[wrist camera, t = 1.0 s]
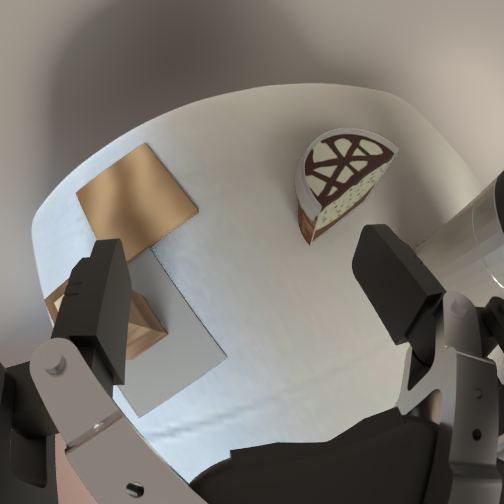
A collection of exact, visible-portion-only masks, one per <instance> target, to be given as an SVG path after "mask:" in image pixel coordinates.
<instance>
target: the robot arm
mask: <svg viewBox="0 0 504 504" xmlns="http://www.w3.org/2000/svg"><path fill="white" fill-rule="evenodd" d="M352 270H353V274H354V276H355V278H356V279H357V281H358V282H359V284H360V286H361V287H362V289H363V291H364V292H365V294H366V295H367V297H368V299H369V300H370V302H371V304H372V305H373V307H374V309H375V310H376V312H377V314H378V315H379V317H380V319H381V320H382V322H383V324H384V326H385V327H386V329H387V331H388V333H389V334H390V336H391V338H392V340H393V341H394V343H395V345H399V344H403V343H406V342H409V343H410V347H409V348H408V350H407V353H406V360H405V367H404V374H403V380H402V386H401V392H400V396H399V399H398V401H397V403H396V404H395V406H394V408H392V409H389V410H387V411H384V412H382V413H379V414H376V415H373V416H371V417H368V418H365V419H363V420H362V421H360V422H359V423H357V424H356V425H354V426H353V427H351V428H349V429H348V430H346V431H345V432H343V433H341V434H340V435H338V436H337V437H335V438H333V439H332V440H330V441H327V442H318V443H280V442H277V443H272V444H267V445H261V446H255V447H249V448H243V449H235V450H230V458H228V459H226V460H223V461H221V462H219V463H217V464H215V465H213V466H211V467H209V468H208V469H206V470H205V471H203V472H201V473H200V474H199V475H198V476H197V477H195V478H194V479H193V480H192V481H191V482H190V483H188V482H187V481H186V480H185V479H184V478H182V477H181V476H180V475H179V474H178V473H177V472H176V471H175V470H174V469H173V468H172V467H171V466H170V465H169V464H168V463H167V462H166V461H165V460H164V459H163V458H162V457H161V456H160V455H159V454H158V453H157V451H156V450H155V449H154V448H153V447H152V446H151V445H150V444H149V443H148V442H147V441H146V439H145V438H144V437H143V436H142V435H141V434H140V433H139V431H138V430H137V429H136V428H135V427H134V425H133V424H132V423H131V422H130V421H129V419H128V418H127V417H126V416H125V414H124V413H123V412H122V411H121V409H120V408H119V407H118V405H117V404H116V403H115V401H114V400H113V399H112V396H113V385H125V363H126V348H127V335H128V324H129V314H130V305H131V296H132V286H131V278H130V274H129V270H128V266H127V262H126V258H125V254H124V249H123V245H122V242H121V240H120V239H119V238H117V239H105V240H97V241H96V242H95V244H94V247H93V250H92V253H91V256H90V257H87V258H82V259H81V260H80V261H79V262H78V263H77V265H76V266H75V267H74V268H73V269H72V272H71V274H70V277H69V280H68V285H67V286H66V289H65V292H64V296H63V298H62V301H61V304H60V308H59V311H58V314H57V318H56V321H55V325H54V328H53V332H52V336H51V339H50V340H47V341H45V342H43V343H42V344H41V345H40V346H39V347H38V348H37V349H36V350H35V351H34V353H33V355H32V357H31V360H30V361H29V362H25V363H22V364H19V365H16V366H12V367H8V368H5V367H4V366H3V365H2V364H1V363H0V504H58V494H57V484H56V467H55V434H58V433H60V434H61V436H62V438H63V439H64V441H65V443H66V446H67V448H66V449H65V455H66V457H67V460H68V461H69V463H70V465H71V467H72V468H73V470H74V471H75V473H76V474H77V475H78V477H79V478H80V480H81V481H82V483H83V484H84V485H85V487H86V488H87V489H88V491H89V492H90V493H91V495H92V496H93V497H94V499H95V500H96V501H97V502H98V504H504V385H503V384H502V383H501V382H500V380H499V378H498V376H497V367H496V363H495V361H494V360H492V359H489V358H487V356H488V355H489V354H490V353H491V352H492V351H493V349H494V348H495V347H496V346H497V345H498V344H499V346H500V348H501V349H502V351H503V353H504V171H503V172H502V173H501V174H500V175H499V176H498V177H497V178H496V179H495V180H494V181H493V182H492V183H491V184H489V185H488V186H487V188H485V189H484V190H483V191H482V192H481V193H480V194H479V195H478V196H477V197H476V198H475V199H474V200H472V201H471V202H470V203H469V204H468V205H467V206H466V207H465V208H463V209H462V210H461V211H460V212H459V213H458V214H457V215H455V216H454V217H453V218H452V219H451V220H450V221H448V222H447V223H446V224H445V225H444V226H443V227H441V228H440V229H439V230H438V231H436V232H435V233H434V234H433V235H432V236H430V237H429V238H428V239H426V240H425V241H424V242H423V243H421V244H420V245H419V246H418V247H416V248H415V249H414V250H412V249H411V248H410V246H409V245H407V244H406V243H404V242H403V241H402V240H400V239H399V238H398V237H397V236H396V234H395V233H394V232H393V231H392V230H391V229H390V228H389V227H388V226H387V225H385V224H374V225H366V226H364V228H363V229H362V232H361V235H360V238H359V242H358V245H357V248H356V251H355V254H354V257H353V260H352ZM10 440H11V444H10Z"/></svg>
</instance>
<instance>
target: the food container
mask: <svg viewBox="0 0 504 504" xmlns="http://www.w3.org/2000/svg"><path fill="white" fill-rule="evenodd" d="M398 151H399V148H398V147H397V146H396V145H395V144H393V143H392V142H390V141H389V140H387V139H386V138H384V137H382V136H380V135H378V134H376V133H373V132H371V131H367V130H363V129H358V128H338V129H334V130H330V131H327V132H325V133H323V134H321V135H320V136H319V137H317V138H316V139H315V140H313V141H312V142H311V143H310V144H309V145H308V146H307V148H306V150H305V151H304V153H303V154H302V156H301V158H300V159H299V161H298V164H297V167H296V170H295V189H296V194H297V197H298V199H299V202H300V203H299V215H298V219H299V226H300V230H301V232H302V235H303V236H304V238H305V240H306V241H307V243H308V244H309V245H311V244H313V243H314V242H315V241H316V240H318V239H319V238H320V237H322V236H323V235H324V234H325V233H327V232H328V231H329V230H330V229H332V228H333V227H334V226H335V225H337V224H338V223H339V222H341V221H342V220H343V219H344V218H346V217H347V216H348V215H349V214H351V213H352V212H353V211H354V210H356V209H357V208H358V207H359V206H361V205H362V204H363V203H364V202H365V201H366V199H367V198H368V197H369V195H370V194H371V192H372V191H373V189H374V188H375V186H376V185H377V183H378V182H379V180H380V179H381V177H382V176H383V174H384V173H385V171H386V170H387V168H388V166H389V165H390V163H391V162H392V160H393V159H395V158H396V156H397V154H398Z"/></svg>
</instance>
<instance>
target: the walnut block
mask: <svg viewBox="0 0 504 504" xmlns="http://www.w3.org/2000/svg"><path fill="white" fill-rule="evenodd" d="M68 280H69V278H68V279H67V280H66V281H65V282H64V283H63V284H62V285H60V286H59V287H58V288H57V289H56V290H55V291H54V292H52V293H51V294H50V295H49V296H48V297H47V298H46V299H45V300H44V301H45V303H46V306H47V308H48V311H49V313H50V316H51V318H52V320H53V323H54V325H55V321H56V318H57V314H58V311H59V308H60V304H61V301H62V298H63V296H64V292H65V289H66V286H67V285H68ZM167 335H168V333H167V331H166V330H165V328H164V327H163V325H162V324H161V322H160V321H159V319H158V318H157V316H156V315H155V313H154V311H153V310H152V308H151V307H150V305H149V304H148V302H147V300H146V299H145V297H144V296H142V295H141V294H139V293H137V292H136V291H134V290H132V296H131V305H130V314H129V324H128V335H127V348H126V360H134V359H135V358H137V357H138V356H139V355H141V354H142V353H144V352H145V351H146V350H148V349H149V348H150V347H152V346H153V345H155V344H156V343H157V342H159V341H160V340H161V339H163V338H164V337H166V336H167Z"/></svg>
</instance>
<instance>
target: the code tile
mask: <svg viewBox="0 0 504 504" xmlns="http://www.w3.org/2000/svg"><path fill="white" fill-rule="evenodd" d="M127 266H128V270H129V274H130V278H131V286H132V290H134V291H136V292H137V293H139V294H141V295H142V296H144V297H145V299H146V300H147V302H148V304H149V305H150V307H151V308H152V310H153V311H154V313H155V315H156V316H157V318H158V319H159V321H160V322H161V324H162V325H163V327H164V328H165V330H166V331H167V333H168V335H167V336H166V337H164V338H163V339H161V340H160V341H159V342H157V343H156V344H155V345H153V346H152V347H150V348H149V349H148V350H146V351H145V352H144V353H142V354H141V355H139V356H138V357H137V358H135V359H134V360H126V363H125V385H117V387H118V388H119V390H120V391H121V393H122V394H123V396H124V397H125V399H126V400H127V402H128V403H129V405H130V406H131V408H132V409H133V410H134V412H135V413H136V415H137V416H138V418H140V417H142V416H143V415H145V414H146V413H148V412H150V411H151V410H153V409H154V408H156V407H157V406H159V405H160V404H162V403H163V402H165V401H166V400H168V399H169V398H171V397H172V396H174V395H175V394H177V393H178V392H180V391H181V390H183V389H184V388H186V387H187V386H188V385H190V384H191V383H193V382H194V381H196V380H197V379H198V378H200V377H201V376H203V375H204V374H206V373H207V372H208V371H210V370H211V369H213V368H214V367H215V366H217V365H218V364H219V363H221V362H222V361H224V360H225V359H226V358H227V356H226V355H225V354H224V353H223V351H222V350H221V349H220V347H219V346H218V345H217V344H216V342H215V341H214V340H213V338H212V337H211V336H210V334H209V333H208V332H207V330H206V329H205V328H204V326H203V325H202V323H201V322H200V321H199V319H198V318H197V317H196V315H195V314H194V312H193V311H192V310H191V308H190V307H189V305H188V304H187V303H186V301H185V300H184V298H183V297H182V296H181V294H180V293H179V291H178V290H177V288H176V287H175V285H174V284H173V283H172V281H171V280H170V278H169V277H168V275H167V274H166V272H165V271H164V269H163V268H162V266H161V265H160V263H159V262H158V260H157V259H156V257H155V256H154V254H153V252H152V251H151V249H150V248H149V247H148V248H147V249H146V250H144V251H143V252H142V253H140V254H139V255H138V256H136V257H135V258H134V259H133V260H131V261H130V262H129V263H127Z"/></svg>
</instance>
